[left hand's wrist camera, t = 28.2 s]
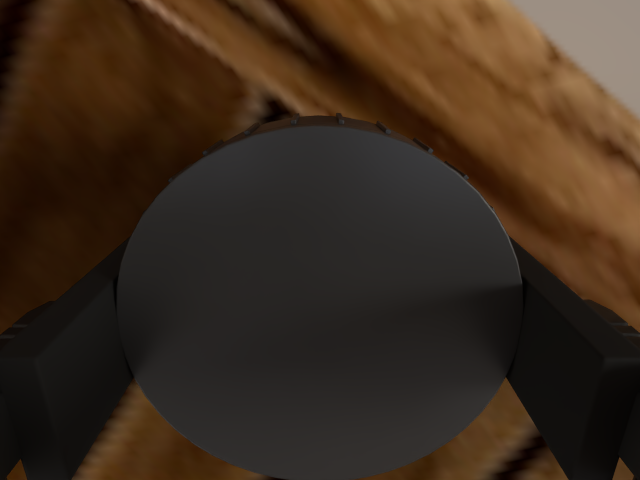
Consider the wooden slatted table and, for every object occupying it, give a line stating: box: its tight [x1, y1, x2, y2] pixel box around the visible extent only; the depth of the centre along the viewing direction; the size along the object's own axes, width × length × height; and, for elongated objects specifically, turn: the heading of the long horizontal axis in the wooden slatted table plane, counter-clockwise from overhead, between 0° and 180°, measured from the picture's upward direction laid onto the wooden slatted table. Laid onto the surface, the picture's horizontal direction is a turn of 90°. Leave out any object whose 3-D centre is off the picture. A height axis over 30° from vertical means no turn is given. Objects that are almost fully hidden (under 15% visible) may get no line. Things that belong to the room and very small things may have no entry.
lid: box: [116, 113, 524, 480], centre depth 11 cm, size 9×9×2 cm
